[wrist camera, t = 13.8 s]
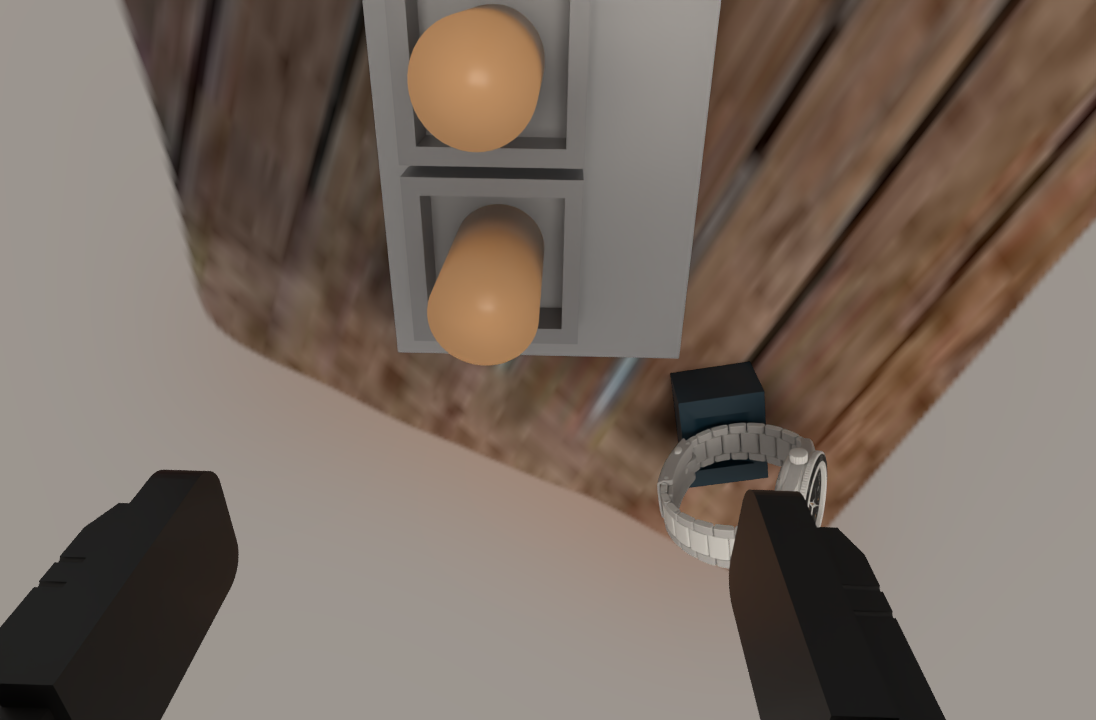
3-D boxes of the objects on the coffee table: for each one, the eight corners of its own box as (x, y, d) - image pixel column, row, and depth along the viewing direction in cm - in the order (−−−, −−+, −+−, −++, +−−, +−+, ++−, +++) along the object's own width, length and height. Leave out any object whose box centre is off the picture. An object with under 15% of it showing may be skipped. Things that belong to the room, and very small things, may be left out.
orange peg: (453, 203, 33) (423, 262, 26) (545, 204, 33) (539, 264, 26) (457, 288, 35) (430, 364, 28) (544, 290, 35) (538, 366, 28)
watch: (788, 439, 40) (859, 584, 31) (649, 457, 41) (675, 604, 31) (786, 354, 38) (862, 484, 28) (638, 376, 38) (662, 509, 29)
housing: (360, -62, 29) (286, -76, 21) (724, -56, 29) (782, -69, 21) (400, 346, 38) (359, 438, 30) (677, 353, 38) (705, 446, 30)
